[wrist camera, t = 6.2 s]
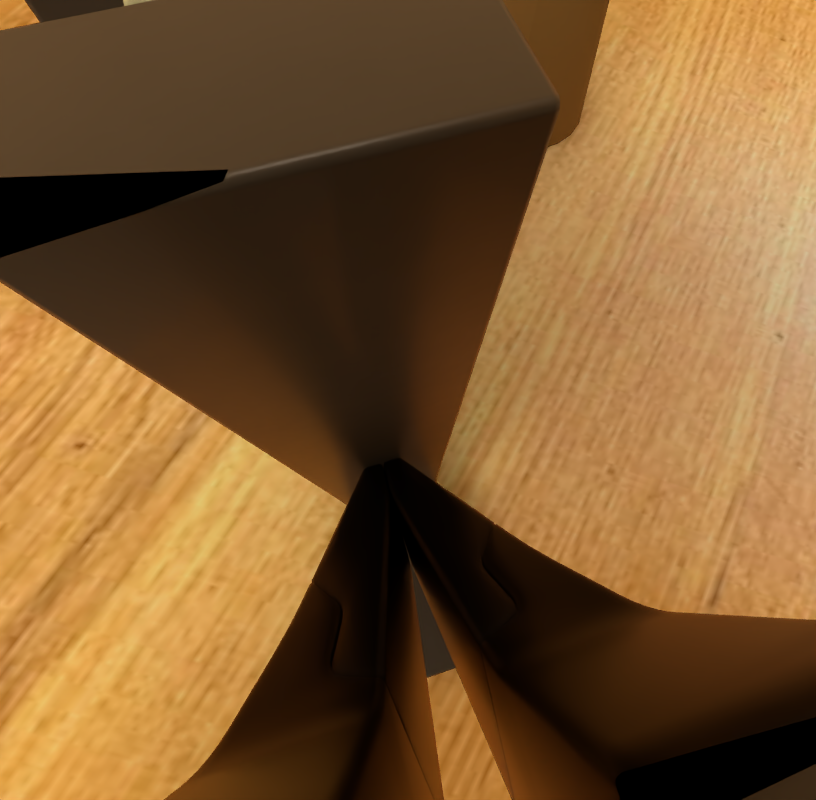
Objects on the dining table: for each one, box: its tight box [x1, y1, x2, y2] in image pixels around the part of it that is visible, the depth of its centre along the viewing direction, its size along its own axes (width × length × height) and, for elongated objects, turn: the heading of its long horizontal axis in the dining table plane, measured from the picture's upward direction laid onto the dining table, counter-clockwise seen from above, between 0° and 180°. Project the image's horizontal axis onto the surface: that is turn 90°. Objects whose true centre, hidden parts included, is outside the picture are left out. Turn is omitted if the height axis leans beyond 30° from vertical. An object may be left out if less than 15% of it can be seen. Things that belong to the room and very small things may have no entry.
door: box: [0, 0, 560, 505], centre depth 10 cm, size 10×3×13 cm, turn 17°
